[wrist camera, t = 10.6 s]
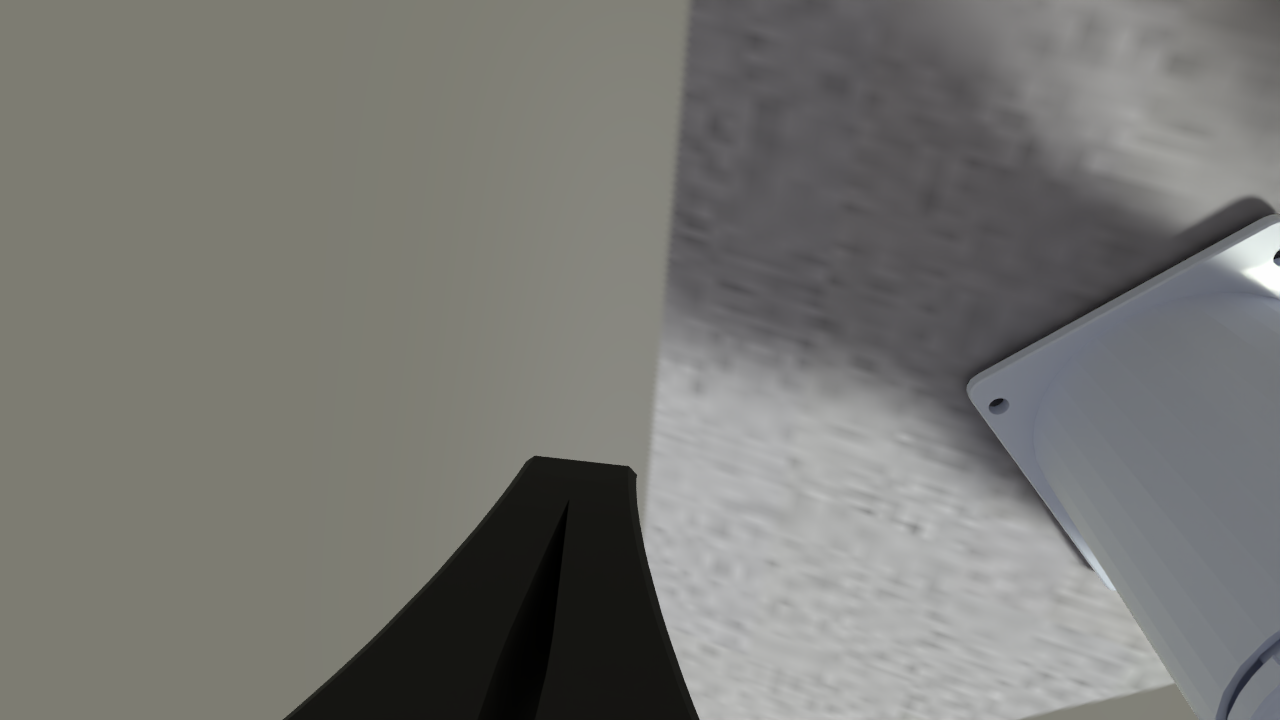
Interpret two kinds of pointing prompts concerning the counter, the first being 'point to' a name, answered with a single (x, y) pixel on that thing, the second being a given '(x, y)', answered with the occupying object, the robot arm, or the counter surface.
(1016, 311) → the counter surface
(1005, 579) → the counter surface
